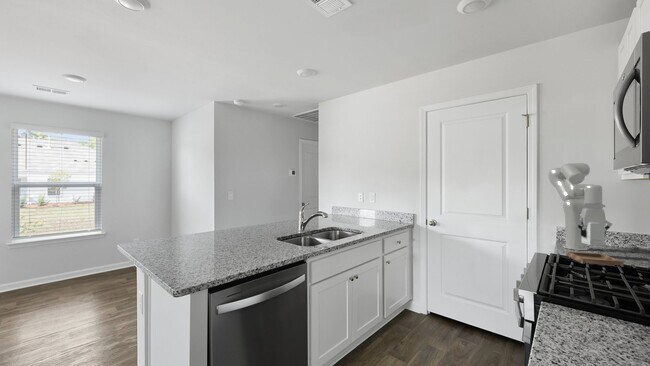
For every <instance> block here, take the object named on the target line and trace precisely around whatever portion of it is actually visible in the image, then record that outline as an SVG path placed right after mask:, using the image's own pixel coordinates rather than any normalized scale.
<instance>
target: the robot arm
mask: <svg viewBox="0 0 650 366" xmlns="http://www.w3.org/2000/svg"><path fill="white" fill-rule="evenodd" d="M590 171H591V169H590V166H589V165H588V164H587V163H584V162H571V163H565V164H563V165H562V166H560V167H555V168H551V170H549V171H548V179H549V181H550V184H551V185H552V186H553V187H554V188H555V190H556V191H557V193H558V195H559V197H560V198H561V200H562V201H563V203H562V204H563V205H562V206H563V207H562V208H563V212H564V221H565V223H564V224H565V225H564V226H565V244H563V245H562V248H564V249H568V250H575V251H589V250H590V248H589V247H587V246H586V244H585V243H582V237H586V230H585V228H586V227H587V226H588V223H605V237H606V232H607V230H610V228H611V227H612V226H613V223H611V222H610V221H608V220H607V219H606V212H605V210H604V209H603V208H606V205H605V204H603V187H602V185H600V184H599V185H598V184H586V183H585V184H582V182H583V181H584V180H585V177H587V176H588V175H589V174H590ZM582 222H583V225H582Z"/></svg>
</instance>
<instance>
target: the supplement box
mask: <svg viewBox="0 0 650 366" xmlns="http://www.w3.org/2000/svg"><path fill="white" fill-rule="evenodd" d="M582 225H583V222H582ZM605 226H606V225H605V223H588V226H587V227H586V228H585V230H586V237H582V243H585V245H589V246H600V247H605V246H606V245H605V244H606V236H605Z"/></svg>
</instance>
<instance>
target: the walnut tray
mask: <svg viewBox="0 0 650 366" xmlns="http://www.w3.org/2000/svg"><path fill="white" fill-rule="evenodd" d="M565 256H566V257H567V256H569V257H568V258H570V257H571V258H570V259H572V260H574V261H577V262H578V263H580V264H582V265H586V264H585V263H586V262H588V263H589V264H588V265H593V264H598V266H606V265H607V266H608V267H616V266H615V265H620V266H621V267H620V268H623V267H624V266H625V264H624V261H623V260H621V259H618V258H614V257H612V256H609V255H607V254H605V253H604V254H603V253H592V252H579V251H566V255H565Z"/></svg>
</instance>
